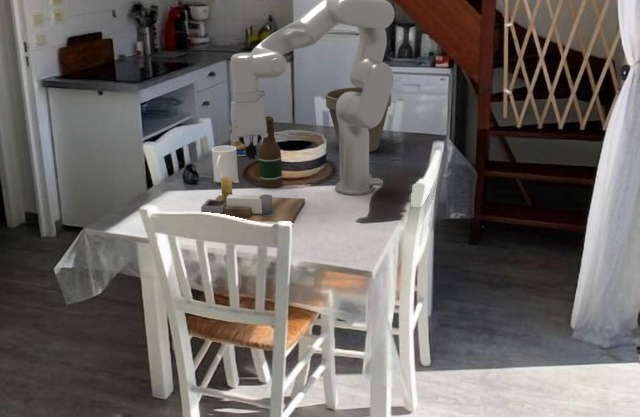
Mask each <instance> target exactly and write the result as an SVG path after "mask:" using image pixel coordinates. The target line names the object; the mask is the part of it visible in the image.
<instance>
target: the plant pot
mask: <svg viewBox="0 0 640 417" xmlns="http://www.w3.org/2000/svg"><path fill="white" fill-rule="evenodd" d="M362 91H363V89H360V88H358V87H356V86H354V87H351V86H350V87H342V88H337V89H331V90H329V91H327V92H326V93H325V94H324V96H325V107H326V108H327V109H328V111H329V114H330V117H331V121H332V125H333V127H334V133H335V136H336V139H337V142H338V144H339V126H338V120H337V115H336V104H337V101H338V99H339V97H340V96H341V95H342V94H344V93H346V92H358V93H361V94H362ZM391 105H392V93H391V94H390V97H389V100H388V104H387V107H386V110H385V113H384V116H383V118H382V120H381V121H380V123H379V124H378V125H377V126H375V127H374V128H370V129H368V130H369V153H371V152H374V151H376V150H377V149H378V148H379V146H380V143H381V139H382V134H383V130H384V126H385V122H386V119H387V115H388V109H389V107H391Z"/></svg>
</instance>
